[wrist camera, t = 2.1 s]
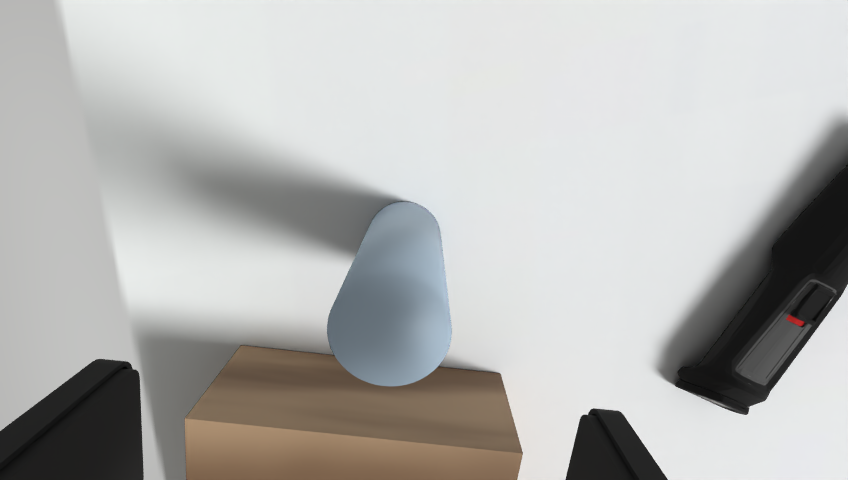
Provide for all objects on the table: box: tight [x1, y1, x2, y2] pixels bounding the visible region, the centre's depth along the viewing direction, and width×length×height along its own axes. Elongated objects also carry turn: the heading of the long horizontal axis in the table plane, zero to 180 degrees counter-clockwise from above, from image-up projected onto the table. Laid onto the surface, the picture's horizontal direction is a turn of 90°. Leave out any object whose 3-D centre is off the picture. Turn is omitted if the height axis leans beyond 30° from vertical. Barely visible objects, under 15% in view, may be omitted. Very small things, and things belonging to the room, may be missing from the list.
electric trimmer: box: [675, 165, 848, 415], centre depth 22 cm, size 4×16×3 cm, turn 154°
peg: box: [327, 202, 452, 386], centre depth 18 cm, size 4×4×10 cm
